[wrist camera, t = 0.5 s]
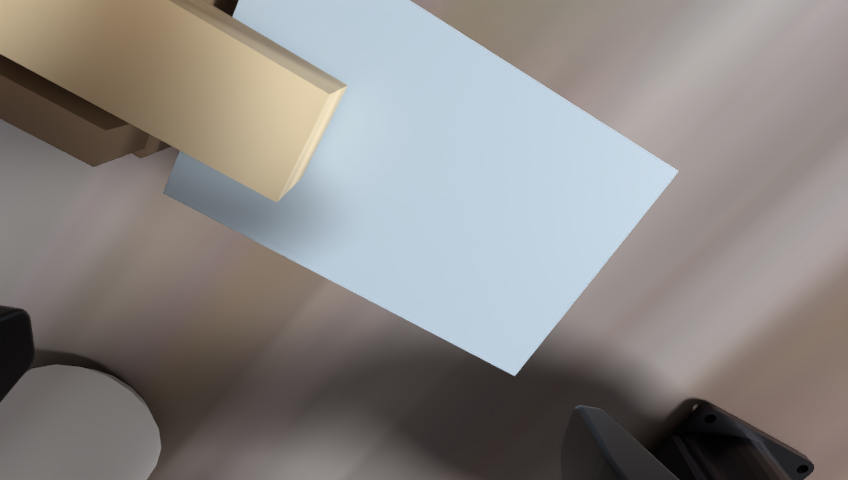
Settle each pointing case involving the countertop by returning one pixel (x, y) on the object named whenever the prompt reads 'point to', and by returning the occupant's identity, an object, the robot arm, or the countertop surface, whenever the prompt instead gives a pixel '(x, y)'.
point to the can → (75, 428)
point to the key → (182, 80)
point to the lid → (438, 179)
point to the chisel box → (73, 114)
